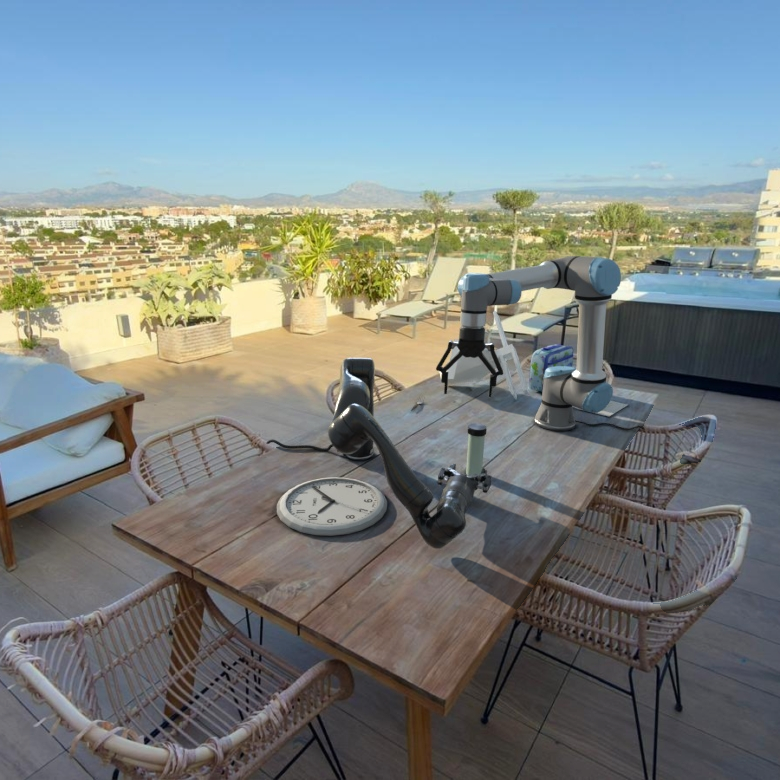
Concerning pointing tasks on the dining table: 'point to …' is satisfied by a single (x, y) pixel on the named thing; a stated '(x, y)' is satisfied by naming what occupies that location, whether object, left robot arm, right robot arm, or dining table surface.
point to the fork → (418, 403)
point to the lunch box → (548, 363)
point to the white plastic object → (476, 369)
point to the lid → (477, 429)
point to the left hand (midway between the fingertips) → (469, 468)
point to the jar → (475, 454)
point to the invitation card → (610, 408)
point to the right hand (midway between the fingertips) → (467, 394)
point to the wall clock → (331, 506)
